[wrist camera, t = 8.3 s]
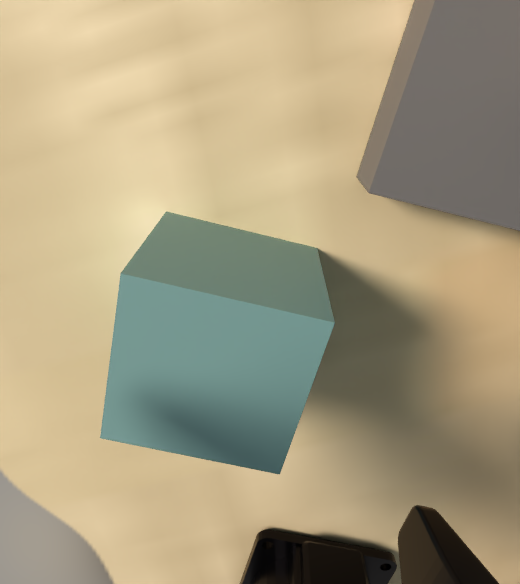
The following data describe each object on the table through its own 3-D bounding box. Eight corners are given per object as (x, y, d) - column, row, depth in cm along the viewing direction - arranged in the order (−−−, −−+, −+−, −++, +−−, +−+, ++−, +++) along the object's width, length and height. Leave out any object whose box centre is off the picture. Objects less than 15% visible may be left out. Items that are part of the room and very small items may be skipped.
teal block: (278, 369, 18) (279, 474, 13) (145, 340, 17) (100, 438, 13) (317, 247, 15) (334, 323, 11) (166, 211, 15) (120, 273, 10)
